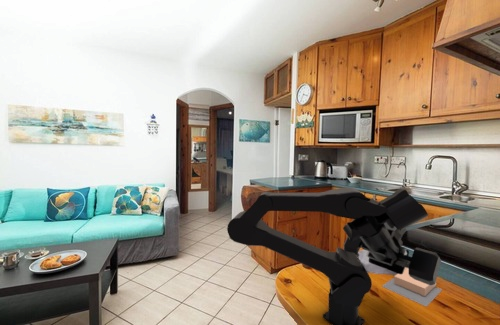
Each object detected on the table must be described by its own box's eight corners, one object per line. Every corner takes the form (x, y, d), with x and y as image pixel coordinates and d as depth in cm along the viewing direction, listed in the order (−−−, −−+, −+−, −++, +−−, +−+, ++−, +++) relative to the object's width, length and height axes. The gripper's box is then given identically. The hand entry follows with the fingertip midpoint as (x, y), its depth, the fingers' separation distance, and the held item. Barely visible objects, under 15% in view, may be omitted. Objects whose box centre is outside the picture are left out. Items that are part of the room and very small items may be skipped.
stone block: (366, 280, 67) (402, 277, 65) (363, 264, 67) (398, 260, 65) (356, 263, 79) (386, 259, 77) (353, 249, 79) (383, 245, 77)
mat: (426, 307, 52) (426, 306, 52) (381, 287, 61) (381, 286, 61) (442, 290, 59) (442, 289, 59) (399, 274, 67) (399, 273, 67)
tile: (424, 288, 56) (436, 278, 60) (394, 276, 61) (406, 267, 66) (424, 297, 56) (436, 286, 60) (394, 283, 61) (406, 274, 66)
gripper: (438, 214, 44) (453, 254, 50) (349, 200, 59) (370, 232, 66) (423, 266, 39) (442, 302, 46) (331, 236, 55) (355, 266, 61)
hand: (397, 270), depth 55 cm, fingers closed
